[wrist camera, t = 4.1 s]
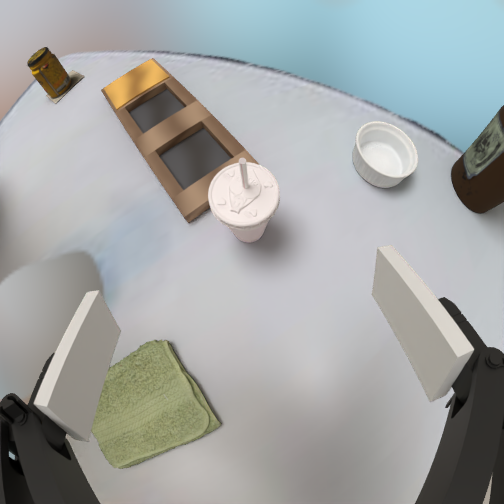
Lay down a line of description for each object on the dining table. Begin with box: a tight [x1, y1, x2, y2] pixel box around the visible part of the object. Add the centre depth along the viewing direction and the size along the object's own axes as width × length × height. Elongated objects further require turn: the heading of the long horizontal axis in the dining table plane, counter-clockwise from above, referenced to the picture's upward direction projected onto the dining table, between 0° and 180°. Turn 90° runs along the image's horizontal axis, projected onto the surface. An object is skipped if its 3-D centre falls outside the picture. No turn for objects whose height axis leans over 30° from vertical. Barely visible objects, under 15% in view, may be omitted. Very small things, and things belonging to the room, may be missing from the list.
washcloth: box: [91, 339, 221, 469], centre depth 28 cm, size 13×18×3 cm
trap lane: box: [101, 58, 259, 223], centre depth 37 cm, size 11×32×2 cm, turn 37°
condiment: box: [28, 47, 84, 104], centre depth 38 cm, size 7×8×12 cm
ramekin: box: [353, 121, 418, 188], centre depth 34 cm, size 9×9×4 cm
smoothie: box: [208, 158, 280, 243], centre depth 27 cm, size 6×6×14 cm
